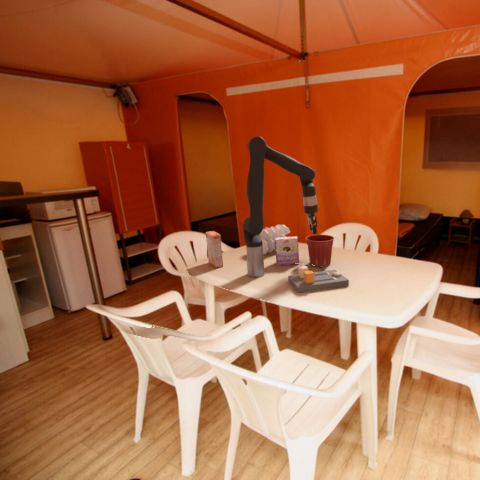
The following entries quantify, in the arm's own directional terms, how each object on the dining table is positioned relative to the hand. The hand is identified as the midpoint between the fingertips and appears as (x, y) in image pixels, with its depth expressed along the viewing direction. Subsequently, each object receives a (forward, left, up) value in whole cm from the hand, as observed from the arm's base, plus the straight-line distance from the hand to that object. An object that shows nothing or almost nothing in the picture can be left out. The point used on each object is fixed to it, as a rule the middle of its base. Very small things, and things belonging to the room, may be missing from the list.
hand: (313, 232), depth 186 cm
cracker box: (-55, +28, -22) cm, 66 cm away
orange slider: (-13, -27, -18) cm, 35 cm away
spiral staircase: (-15, +42, -22) cm, 49 cm away
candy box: (-12, +13, -22) cm, 28 cm away
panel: (-7, -23, -21) cm, 32 cm away
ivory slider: (-13, -19, -18) cm, 29 cm away
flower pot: (+6, +5, -22) cm, 23 cm away
